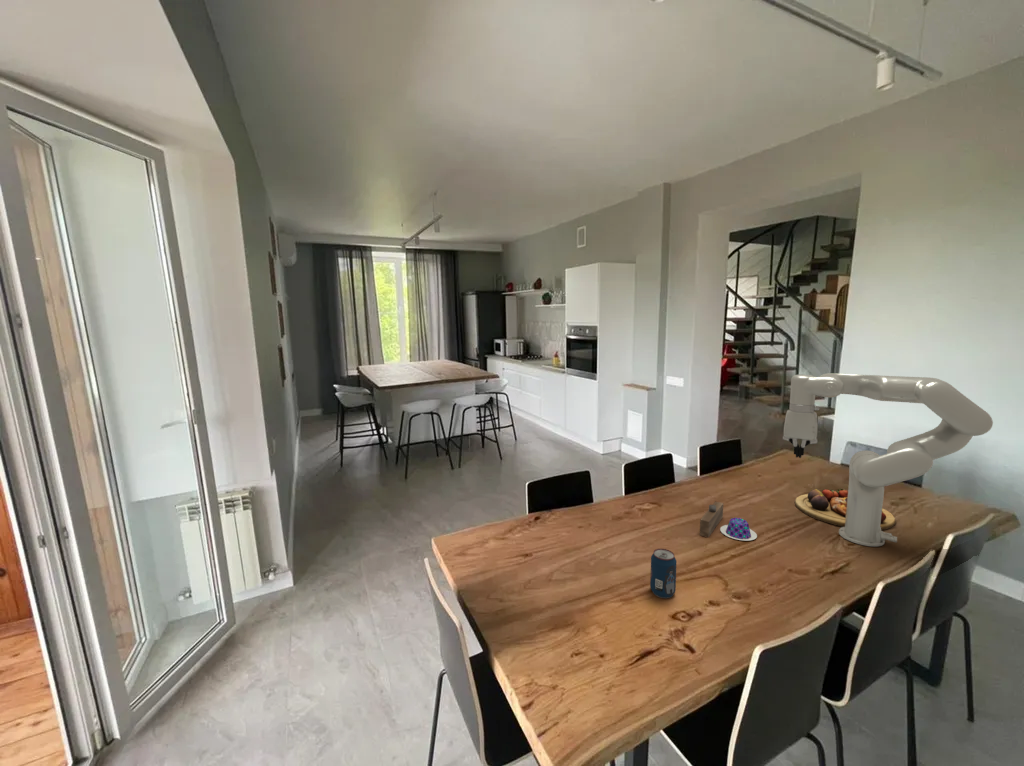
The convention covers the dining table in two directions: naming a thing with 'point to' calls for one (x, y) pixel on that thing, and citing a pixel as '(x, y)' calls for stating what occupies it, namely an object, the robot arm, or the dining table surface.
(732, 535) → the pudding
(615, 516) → the dining table surface
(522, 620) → the dining table surface
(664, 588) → the soda can
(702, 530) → the rail
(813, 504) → the wooden plate with food
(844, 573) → the dining table surface
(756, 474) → the dining table surface
